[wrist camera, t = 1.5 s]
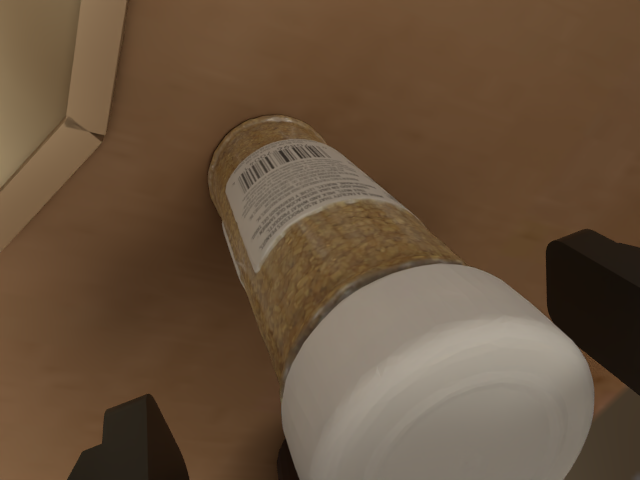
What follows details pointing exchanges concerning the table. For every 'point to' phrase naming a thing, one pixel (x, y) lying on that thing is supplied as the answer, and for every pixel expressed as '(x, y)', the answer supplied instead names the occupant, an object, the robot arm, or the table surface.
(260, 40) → the table surface
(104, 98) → the condiment caddy
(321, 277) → the seasoning bottle
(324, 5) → the table surface
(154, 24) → the table surface
